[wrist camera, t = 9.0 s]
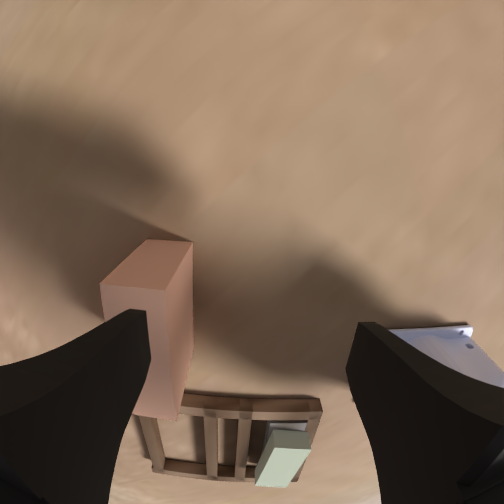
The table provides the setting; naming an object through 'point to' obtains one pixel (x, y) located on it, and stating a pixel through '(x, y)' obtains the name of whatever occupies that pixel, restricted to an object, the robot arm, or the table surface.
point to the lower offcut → (283, 427)
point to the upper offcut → (282, 458)
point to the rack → (245, 414)
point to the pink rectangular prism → (158, 317)
